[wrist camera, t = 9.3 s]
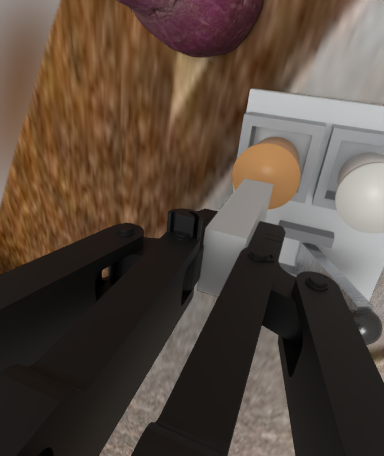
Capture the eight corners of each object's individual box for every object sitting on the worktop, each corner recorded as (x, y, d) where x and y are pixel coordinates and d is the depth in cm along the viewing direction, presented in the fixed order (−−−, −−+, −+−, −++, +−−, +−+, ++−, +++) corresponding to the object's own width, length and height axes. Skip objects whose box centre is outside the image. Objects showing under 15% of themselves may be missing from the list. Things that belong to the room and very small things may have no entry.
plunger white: (326, 200, 27) (326, 224, 22) (343, 143, 25) (347, 157, 20) (388, 213, 26) (401, 240, 21) (411, 154, 24) (431, 171, 19)
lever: (287, 269, 32) (348, 356, 23) (294, 242, 31) (363, 323, 22) (312, 269, 33) (381, 354, 24) (320, 243, 31) (397, 321, 22)
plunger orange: (241, 183, 29) (227, 201, 24) (251, 128, 27) (237, 138, 22) (295, 194, 27) (291, 216, 23) (310, 138, 25) (307, 150, 21)
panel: (225, 256, 38) (214, 276, 34) (254, 88, 30) (244, 89, 26) (364, 294, 34) (370, 321, 30) (440, 112, 26) (460, 118, 22)
